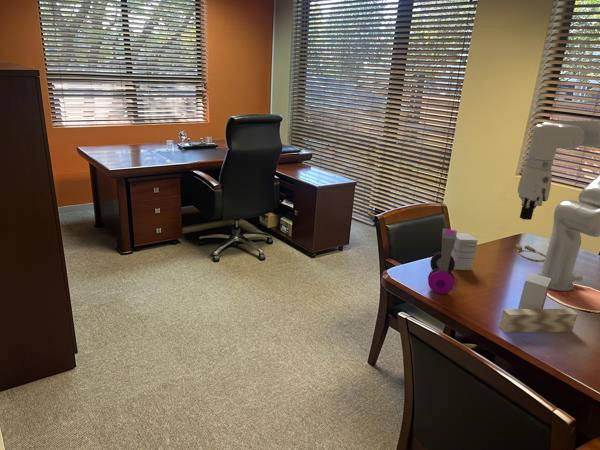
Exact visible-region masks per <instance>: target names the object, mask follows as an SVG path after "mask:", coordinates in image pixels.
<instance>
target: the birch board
mask: <svg viewBox="0 0 600 450" xmlns="http://www.w3.org/2000/svg"><path fill="white" fill-rule="evenodd" d="M577 318H578V313H577V312H576V311H574V310H573V309H572V308H543V309H518V308H517V309H516V308H515V309H514V308H512V309H511V308H510V309H509V308H508V309H507V308H506V309H502V312H501V317H500V322H499V325H498V327H499V328H500V330H501V331H502V332H503V333H549V332H550V333H553V332H557V333H558V332H559V333H560V332H561V333H562V332H564V333H565V332H573V330H574V326H575V323H576V320H577Z"/></svg>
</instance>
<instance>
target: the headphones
mask: <svg viewBox="0 0 600 450" xmlns="http://www.w3.org/2000/svg"><path fill="white" fill-rule="evenodd" d="M441 233H442V234H441V251H437V252H435V253H434V255H432V257H431V258H430V261H429V262H430V264H429V265H430V268H431V270H432V271H430V273H429V274H428V277H427V284H428V286H429V288H430V290H432V291H433V292H434V293H437V294H440V295H444V294H447V293H449V292H450V291H452V290H453V288H454V286H455V276H454V274H453V271H454V267H455V261H454V259H453V257H452V256H451V253H452V250H453V247H454V243H455V240H456V235H457V233H458V231H457V230H455V229H451V228H449V229H448V228H442V232H441Z"/></svg>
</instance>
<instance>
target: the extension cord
mask: <svg viewBox="0 0 600 450" xmlns="http://www.w3.org/2000/svg"><path fill="white" fill-rule="evenodd" d="M515 248H516V249H518V251H517V254H518V255H519V257H522V258H524V259H526V260H528V261H532V262H538V261H543V262H544V261H545V258H544V259H533V258H530V257H526V256H524V255H523V254H520V253H521V252H529V253H534V254H537V255H541V256H543V255H544V256H543V257H546V254H543V253H542V252H539V251H537V250H536V249H535V248H533V247H532V246H530V245H525V246H524V249H525V250H524V249H523V247H522V246H521V245H520V244H519V243H516V244H515Z"/></svg>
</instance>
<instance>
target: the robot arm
mask: <svg viewBox="0 0 600 450" xmlns="http://www.w3.org/2000/svg"><path fill="white" fill-rule="evenodd" d="M530 139H531V140H530V144H529V146H528V147H529V148H528V152H527V157H526V159H525V164H524V167H523V170H522V173H521V175H520V180H519V182H518V186H517V193H518V197H519V199H520V200H521V209H520V210H521V211H520V215H519V218H520V219H521V220H527V221H529V220H530V221H531V220H532V217H533V215H534V210H535V209H536V208H537V207H542V206H543V202H547V201H548V199H549V196H550V190H551V187H552V180H553V179H552V177H553V171H552V166H553V164H554V160H555V156H556V153H557V149H561V150H562V149H563V150H567V151H569V150H570V151H571V150H575V149H577V148H579V147H580V146H581V147H587V148H588V147H589V148H594V147H595V148H596V147H597V148H598V147H600V120H548V121H545V122H542V123H538V124H536V125H535V126H534V128H533V131H532V134H531V138H530ZM577 198H578V201H577V200H571V199H567V200H563V201H561V202H559V203H558V204H556V206H555V208H554V212H553V222H552V223H553V226H552V232H551V234H550V240H549V242H548V246H547V250H546V253H545V256H546V257H545V256H544V257H545V258H544V259H545V261H544V260H543V266H542V269H541V273H538V274H537V273H536V274H537V275H541V276H544V277H548V278H551V283H550V286H549V289H550V290H553V291H558V292H569V291H572V290H573V289H574V283H573V282H575V281H577V282H580V281H581V282H582V280H583V276H582V275H575V273H574V268H575V265H576V261H577V258H578V256H579V251H580V249H581V245H582V235H581V234H584V235H586V236H590V237H593V238H598V237H600V174H599V175H598V176H596V177H595V178H594V179H593V180H592V181H591V182H589V184H587V185H586V186H585V187H584V188H582V190H581V191H580V193H579V194H578V197H577Z"/></svg>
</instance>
